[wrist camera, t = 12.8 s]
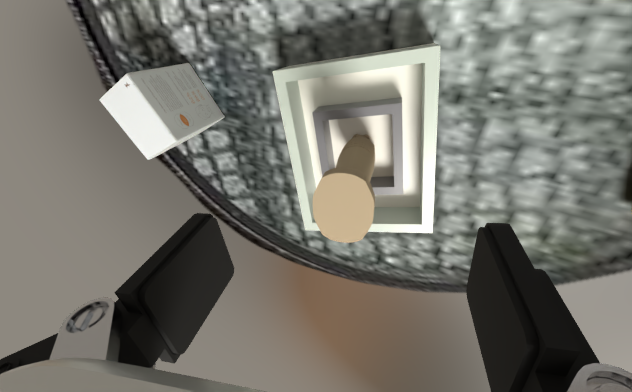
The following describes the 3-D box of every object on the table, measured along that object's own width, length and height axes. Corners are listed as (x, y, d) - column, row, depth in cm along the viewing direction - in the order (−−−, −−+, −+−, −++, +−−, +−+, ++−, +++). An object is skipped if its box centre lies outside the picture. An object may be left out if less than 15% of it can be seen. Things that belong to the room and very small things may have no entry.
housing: (289, 65, 34) (272, 71, 30) (434, 43, 30) (440, 45, 25) (315, 209, 43) (305, 230, 39) (428, 208, 39) (432, 233, 34)
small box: (163, 82, 39) (95, 98, 31) (190, 61, 37) (124, 71, 28) (199, 134, 42) (146, 161, 33) (226, 117, 40) (176, 142, 31)
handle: (341, 167, 37) (313, 238, 25) (342, 118, 34) (311, 170, 21) (378, 170, 36) (370, 246, 24) (383, 119, 33) (377, 175, 20)
